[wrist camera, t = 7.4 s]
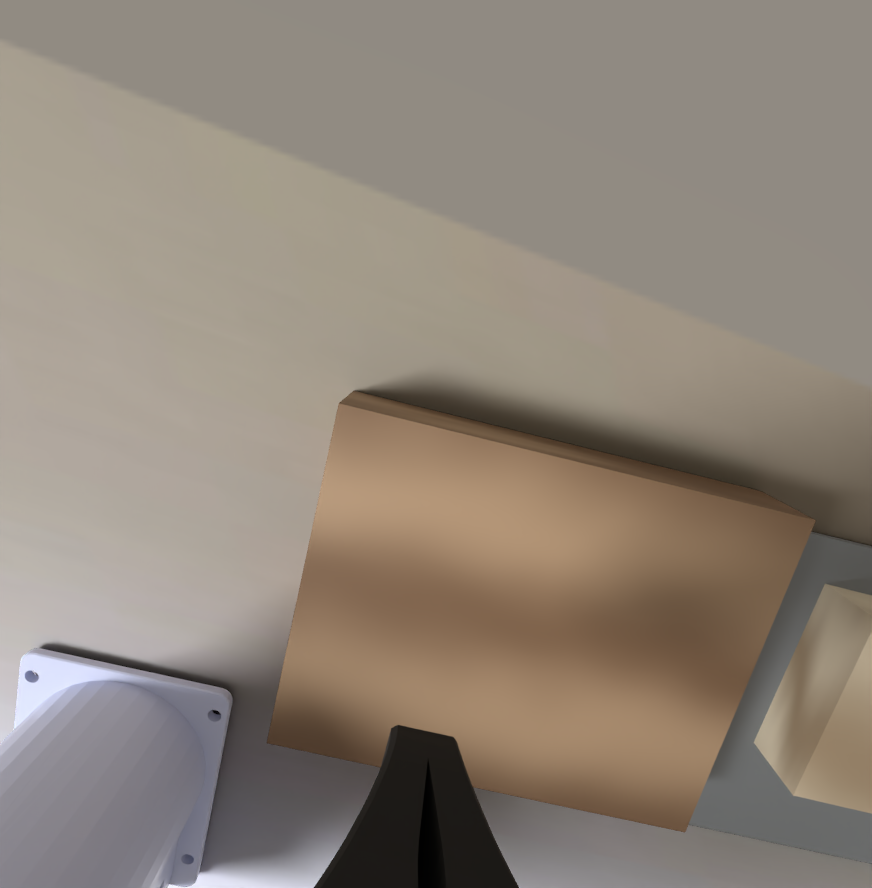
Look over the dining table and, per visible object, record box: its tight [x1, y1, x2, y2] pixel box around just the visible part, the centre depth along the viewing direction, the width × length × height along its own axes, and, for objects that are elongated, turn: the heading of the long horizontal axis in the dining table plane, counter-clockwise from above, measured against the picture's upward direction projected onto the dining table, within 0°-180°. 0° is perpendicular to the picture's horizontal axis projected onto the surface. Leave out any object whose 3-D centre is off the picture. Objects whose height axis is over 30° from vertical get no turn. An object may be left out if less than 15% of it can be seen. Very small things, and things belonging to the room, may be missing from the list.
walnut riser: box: [267, 391, 816, 832], centre depth 20 cm, size 12×15×3 cm
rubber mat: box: [688, 531, 872, 864], centre depth 22 cm, size 13×12×1 cm
